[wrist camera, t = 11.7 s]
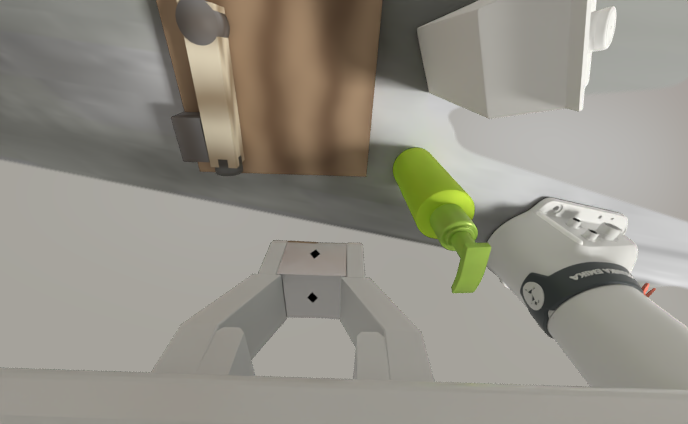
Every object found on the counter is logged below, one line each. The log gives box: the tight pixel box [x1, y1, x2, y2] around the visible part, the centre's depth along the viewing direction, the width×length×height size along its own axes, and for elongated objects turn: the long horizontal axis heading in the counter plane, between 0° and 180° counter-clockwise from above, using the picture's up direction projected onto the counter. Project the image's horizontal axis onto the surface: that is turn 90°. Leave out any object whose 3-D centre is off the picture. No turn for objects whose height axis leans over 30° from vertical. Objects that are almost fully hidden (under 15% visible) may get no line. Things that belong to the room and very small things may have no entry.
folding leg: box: [175, 0, 245, 176], centre depth 28 cm, size 17×4×3 cm, turn 176°
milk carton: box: [417, 0, 616, 119], centre depth 22 cm, size 7×7×19 cm
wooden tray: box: [156, 0, 382, 177], centre depth 30 cm, size 22×20×6 cm
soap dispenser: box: [393, 148, 491, 293], centre depth 29 cm, size 6×7×20 cm
